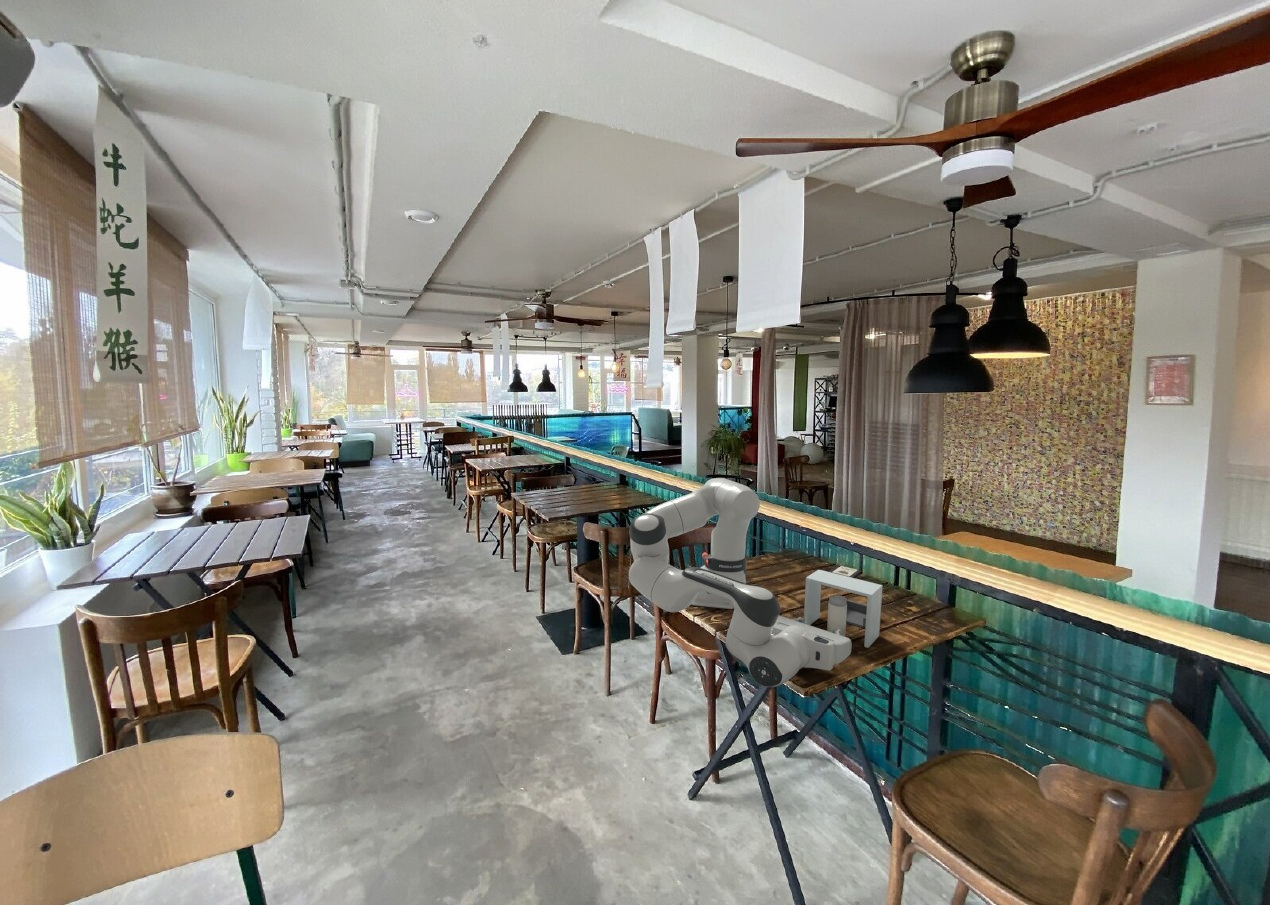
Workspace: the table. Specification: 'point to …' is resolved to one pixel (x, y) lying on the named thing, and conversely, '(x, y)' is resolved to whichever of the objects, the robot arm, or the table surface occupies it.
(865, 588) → the tunnel
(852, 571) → the chocolate bar
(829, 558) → the table surface
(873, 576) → the table surface
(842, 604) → the shaker
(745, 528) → the robot arm
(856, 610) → the tray
